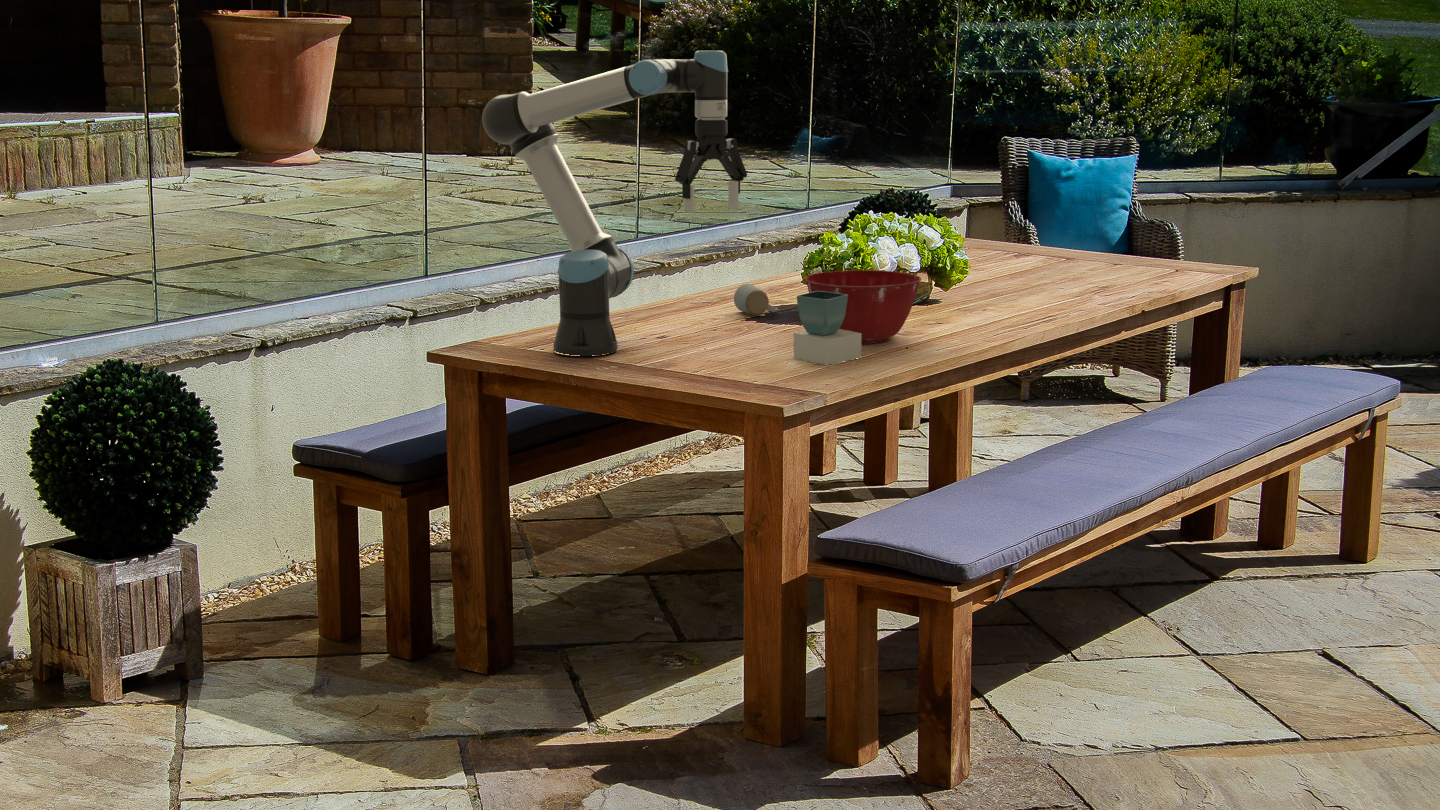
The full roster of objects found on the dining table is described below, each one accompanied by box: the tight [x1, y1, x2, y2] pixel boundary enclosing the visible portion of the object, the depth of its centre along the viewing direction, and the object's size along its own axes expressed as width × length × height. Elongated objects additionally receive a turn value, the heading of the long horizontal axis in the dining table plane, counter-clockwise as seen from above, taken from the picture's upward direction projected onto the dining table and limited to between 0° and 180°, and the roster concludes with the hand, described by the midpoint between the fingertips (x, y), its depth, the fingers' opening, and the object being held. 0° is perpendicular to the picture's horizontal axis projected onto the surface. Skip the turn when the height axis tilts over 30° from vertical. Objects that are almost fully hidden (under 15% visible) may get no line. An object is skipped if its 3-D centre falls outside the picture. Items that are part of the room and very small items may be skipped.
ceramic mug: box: [733, 283, 777, 316], centre depth 392 cm, size 11×8×8 cm
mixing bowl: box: [804, 269, 922, 344], centre depth 356 cm, size 28×28×16 cm
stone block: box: [793, 329, 862, 366], centre depth 334 cm, size 11×11×6 cm
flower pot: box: [796, 291, 848, 336], centre depth 332 cm, size 9×9×9 cm
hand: (711, 210), depth 341 cm, fingers open, 13 cm apart
